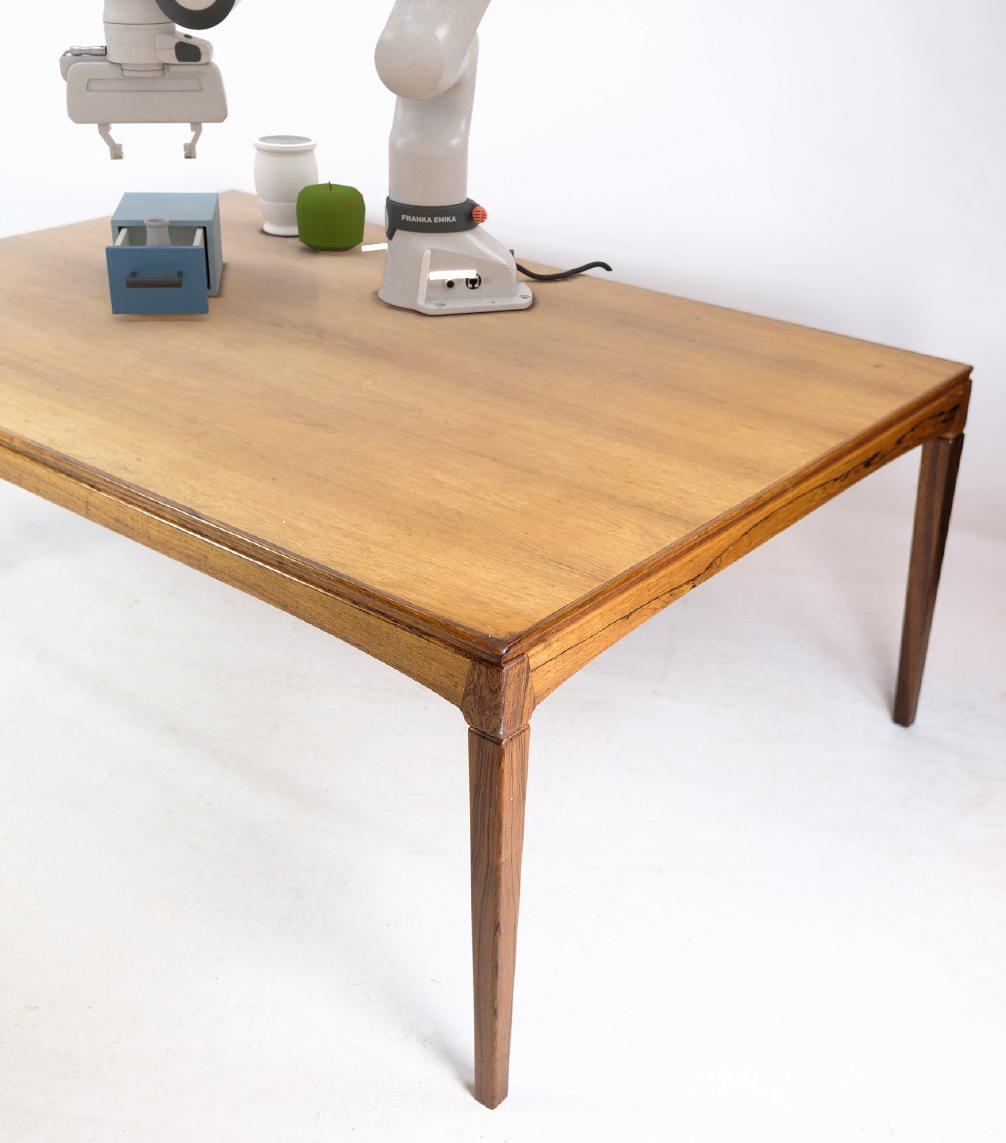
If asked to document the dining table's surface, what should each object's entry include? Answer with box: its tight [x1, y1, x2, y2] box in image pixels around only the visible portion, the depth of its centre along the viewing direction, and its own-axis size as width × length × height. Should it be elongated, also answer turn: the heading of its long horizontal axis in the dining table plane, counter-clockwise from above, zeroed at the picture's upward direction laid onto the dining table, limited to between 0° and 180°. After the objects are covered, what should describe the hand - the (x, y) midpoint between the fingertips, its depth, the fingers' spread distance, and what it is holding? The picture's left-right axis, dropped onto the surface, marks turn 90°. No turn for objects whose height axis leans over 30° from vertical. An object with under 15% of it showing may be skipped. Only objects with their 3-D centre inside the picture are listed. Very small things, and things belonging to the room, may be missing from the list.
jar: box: [252, 134, 319, 237], centre depth 217 cm, size 11×10×15 cm
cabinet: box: [110, 191, 224, 297], centre depth 190 cm, size 18×14×11 cm
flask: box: [144, 217, 171, 246], centre depth 176 cm, size 7×7×10 cm
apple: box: [296, 180, 367, 253], centre depth 209 cm, size 11×11×11 cm
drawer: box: [104, 226, 210, 315], centre depth 177 cm, size 22×13×9 cm, turn 8°
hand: (154, 158), depth 170 cm, fingers open, 8 cm apart
